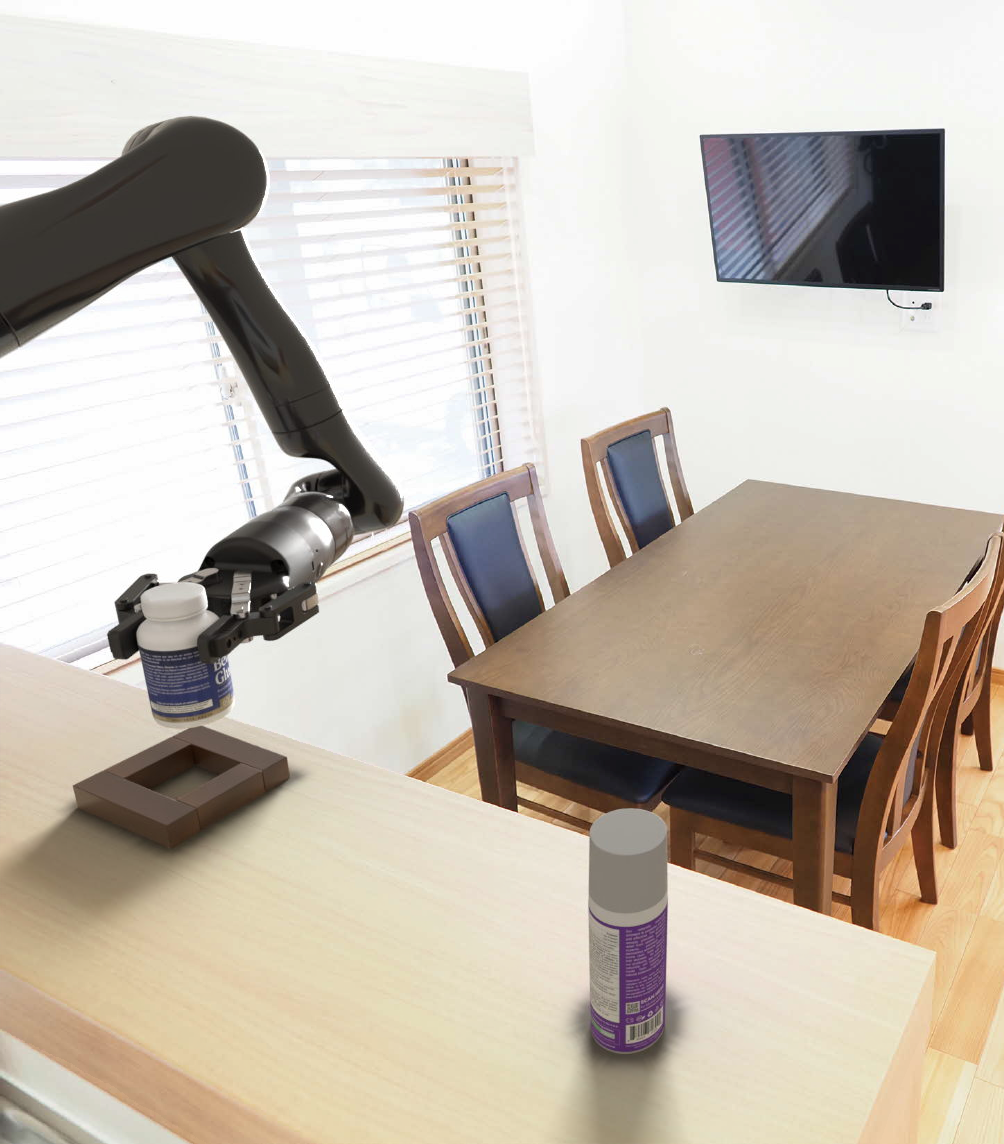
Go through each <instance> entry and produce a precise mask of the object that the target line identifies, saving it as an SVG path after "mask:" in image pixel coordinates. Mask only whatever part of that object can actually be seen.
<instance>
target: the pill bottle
mask: <svg viewBox="0 0 1004 1144" xmlns="http://www.w3.org/2000/svg"><path fill="white" fill-rule="evenodd" d="M170 583H171V584H165V585H160V586H157V587H154V588H151V589H149V590H147V591H145V592H144V593H143V594H142V595H141V604H142V611H143V613H144V616H145V617H146V618H147V619H146V620H145V621H144V622H143V623H141V625H140V626H139V627H138V629H137V634H136V637H137V642H138V648H139V651H138V652H139V655H140V656H139V657H140V661H141V664H142V665H141V666H142V670H143V676H144V681H145V687H146V691H147V695H148V699H149V706H150V710H151V715H152V718H153V719H154V721H155V722H156V723H157V724H158V725H160V726H162V727H164V728H168V729H174V730H186V729H188V728H193V727H199V726H206V725H209V724H212V723H214V722H217V721H219V720H221V719H223V718H224V717H226V716H227V715H229V714H230V712H232V710H233V709H234V706H235V703H236V701H235V700H236V699H235V691H234V686H233V679H232V673H231V668H230V661H229V654H228V655H226V656H224V657H222V658H220V659H219V660H217V661H216V662H215V663H214V664H204V663H201V661H200V657H199V652H198V646H197V638H198V636H199V635H200V634H201V633H202V632H204V631H205V630H206V629H207V628H208V627H210V626H211V625H212V624H213V623H214V622H216V621H217V620H218V619H219V617H218V616H217V615H216V614H214V613H213V612H211V611H208V610H206V609H207V607H208V604H207V603H208V601H207V596H206V591H205V588H204V587H203V586H202V585H200V584H196V583H188V582H181V583H177V582H170Z"/></svg>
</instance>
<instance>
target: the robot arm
mask: <svg viewBox="0 0 1004 1144" xmlns="http://www.w3.org/2000/svg"><path fill="white" fill-rule="evenodd" d="M120 155H121V156H119V157H117V158H116V159H114V160H112V161H111V162H109V163H107V164H106V165H104V166H102V167H100V168H98V169H97V170H95V171H94V172H92V173H90V174H88V175H85V176H84V177H82V178H80V179H78V180H75V181H74V182H72V183H69V184H66V185H65V186H61V187H59V188H56V189H53V190H50V191H47V192H44V193H39V194H37V195H36V194H35V195H33V196H30V197H26V198H22V199H18V200H15V201H12V202H9V203H4V204H1V205H0V360H1V359H2V358H4V357H6V356H8V355H10V354H11V353H13V352H15V351H17V350H19V349H21V348H22V347H25V346H26V345H28V344H29V343H31V342H33V341H34V340H36V339H37V338H39V337H40V336H42V335H44V334H45V333H47V332H48V331H50V330H52V329H53V328H56V327H57V326H58V325H60V324H61V323H64V322H65V321H67V320H68V319H70V318H72V317H73V316H75V315H76V314H78V313H79V312H81V311H82V310H84V309H86V308H87V307H89V306H90V305H92V304H93V303H94V302H96V301H98V300H99V299H100V298H102V297H104V296H105V295H106V294H108V293H109V292H111V291H113V290H114V289H115V288H117V287H118V286H119V285H121V284H122V283H124V282H125V281H127V280H128V279H130V278H131V277H134V276H136V275H138V274H139V273H140V272H142V271H144V270H147V269H148V268H150V267H153V266H154V265H156V264H158V263H161V262H163V261H165V260H167V259H170V258H172V260H173V261H174V263H175V264H176V266H177V267H178V269H179V270H180V271H181V273H182V274H183V276H184V277H185V279H186V280H187V282H188V283H189V285H190V286H191V288H192V290H193V292H194V293H195V295H196V297H198V299H199V301H200V302H201V305H202V306H203V307H204V309H205V311H206V312H207V314H208V315H209V318H210V319H211V321H212V322H213V324H214V325H215V327H216V330H218V333H219V334H220V336H221V338H222V339H223V341H224V343H225V345H226V346H227V349H228V350H229V352H230V353H231V356H232V357H233V359H234V361H235V363H236V365H237V367H238V369H239V371H240V373H241V374H242V377H243V379H244V380H245V383H246V385H247V386H248V388H249V390H250V393H251V395H252V397H253V398H254V400H255V403H256V405H257V407H258V409H259V411H260V413H261V414H262V417H263V419H264V421H265V423H266V424H267V427H268V429H269V431H270V432H271V434H272V436H273V438H274V440H275V442H276V444H277V446H278V447H279V449H280V450H281V451H282V453H283V454H285V455H286V456H288V457H291V458H295V459H296V458H297V459H315V460H321V461H325V462H326V463H328V464H330V465H331V466H332V467H334V468H332V469H328V470H327V469H326V470H323V471H318V472H313V473H311V474H310V473H309V474H308V475H306V476H303V477H301V478H299V479H297V480H295V481H294V482H293V483H292V484H291V485H290V487H289V488H288V491H287V493H286V495H285V496H284V498H283V500H282V502H281V503H279V504H278V505H277V506H275V507H274V508H272V509H271V510H268V511H266V512H263V513H261V514H259V515H257V516H255V517H253V518H251V519H250V520H249V521H247V522H246V523H244V524H243V525H241V526H240V527H239V528H236V529H235V530H234V531H233V532H231V533H229V534H228V535H227V536H225V537H223V538H222V539H221V540H219V541H218V542H216V543H215V544H213V546H211V547H210V549H208V551H207V552H206V554H205V556H204V557H203V560H202V561H201V564H200V566H199V568H198V570H197V571H195V572H192V573H189V574H186V575H183V576H182V577H180V578H179V579H178V581H177V582H176V583H181V582H188V583H196V584H200V585H202V586H203V587H204V588H205V591H206V596H207V601H208V603H207V604H208V607H207V609H206V610H208V611H211V612H213V613H214V614H216V615H217V616H218V617H219V619H218V620H217V621H216V622H214V623H213V624H212V625H211V626H210V627H208V628H207V629H206V630H205V631H204V632H202V633H201V634H200V635H199V636H198V638H197V646H198V652H199V657H200V661H201V663H204V664H214V663H215V662H216V661H217V660H219V659H220V658H222V657H224V656H226V655H228V656H229V654H231V653H232V652H233V651H234V650H235V649H236V648H238V646H239V645H242V644H249V643H251V642H252V641H253V640H254V637H261V636H262V638H263V641H266V642H275V641H277V640H280V639H281V638H282V637H284V636H286V635H287V634H288V633H290V632H292V631H293V630H295V629H296V628H298V627H299V626H301V625H303V624H304V623H305V622H307V621H309V620H310V619H311V618H313V617H315V616H316V615H317V614H319V613H320V606H319V597H318V596H319V595H318V589H317V583H318V582H319V581H320V580H321V579H322V577H324V575H325V573H326V571H327V570H328V569H329V568H330V567H332V566H333V565H334V564H335V563H336V562H337V561H339V559H340V558H342V556H343V555H344V554H345V553H346V551H348V549H349V548H350V546H351V544H352V542H353V540H354V537H356V536H360V535H365V534H370V533H374V532H380V531H384V530H388V529H390V528H392V527H394V526H395V525H396V524H397V523H398V522H399V521H400V519H401V517H402V515H403V513H404V507H405V497H404V492H403V488H402V486H401V484H400V481H399V479H398V477H397V475H396V474H395V473H394V471H393V470H392V468H391V467H390V466H389V465H388V463H387V462H386V461H385V459H384V458H382V456H381V455H380V454H379V453H378V451H376V449H375V448H374V447H373V446H372V445H371V443H370V442H369V441H368V439H367V438H366V437H365V436H364V434H363V433H362V432H361V431H360V429H359V428H358V427H357V426H356V424H355V423H354V422H353V420H352V418H351V417H350V416H349V414H348V412H347V409H346V407H345V405H344V404H343V401H342V399H341V397H340V395H339V392H338V390H337V388H336V386H335V383H334V381H333V380H332V377H331V374H330V373H329V371H328V368H327V367H326V364H325V363H324V361H323V359H322V357H321V356H320V354H319V352H318V351H317V349H316V347H315V346H314V344H313V343H312V341H311V340H310V339H309V337H308V336H307V334H306V333H305V331H303V329H302V328H301V326H300V325H299V324H298V322H297V320H295V318H294V317H293V315H292V314H291V313H290V312H289V310H288V309H287V308H286V306H285V305H284V303H282V301H281V300H280V298H279V296H278V295H277V293H276V292H275V291H274V289H273V288H272V286H271V284H270V283H269V281H268V280H267V278H266V276H265V275H264V272H263V271H262V269H261V268H260V265H259V264H258V262H257V260H256V258H255V256H254V253H253V250H252V249H251V246H250V244H249V241H248V239H247V235H246V233H245V230H244V228H245V227H247V226H248V225H250V224H251V223H252V222H253V221H254V220H255V219H256V218H257V217H258V215H259V214H260V213H261V212H262V209H263V208H264V206H265V204H266V201H267V198H268V195H269V190H270V172H269V168H268V164H267V161H266V159H265V157H264V154H263V153H262V151H261V150H260V149H259V147H258V146H257V144H255V141H253V140H252V139H251V138H250V137H249V136H248V135H246V134H245V133H244V132H243V131H241V130H240V129H238V128H236V127H234V126H233V125H230V124H229V123H225V122H223V121H221V120H217V119H214V118H210V117H206V116H197V115H184V116H176V117H174V118H169V119H166V120H162V121H158V122H155V123H152V124H149V125H147V126H144V127H142V128H140V129H139V130H137V131H136V132H135V133H133V134H132V135H131V137H130V138H129V139H127V141H126V143H125V144H124V147H123V149H122V151H121V154H120ZM158 578H159V577H158V574H157V573H145V574H142V575H140V576H139V577H138V578H137V579H135V580H134V582H132V584H131V585H130V586H129V587H127V589H126V590H125V591H124V592H122V594H121V595H120V596H119V597H118V598H117V599H115V600H114V607H115V612H116V616H117V621H118V624H117V625H115V626H114V627H113V628H111V629H109V630H108V632H107V634H106V637H107V641H108V646H109V651H110V653H111V654H112V657H113V659H114V660H122V661H123V660H124V661H126V660H129V659H130V658H131V657H133V656H134V655H135V654H137V653H138V652H139V648H138V642H137V637H136V634H137V629H138V627H139V626H140V625H141V623H143V622H144V621H145V620H146V619H147V618H146V617H145V616H144V613H143V611H142V604H141V595H142V594H143V593H144V592H145V591H147V590H149V589H151V588H154V587H157V586H160V585H165V584H171V583H172V582H160V581H159V579H158Z"/></svg>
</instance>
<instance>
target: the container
mask: <svg viewBox="0 0 1004 1144" xmlns="http://www.w3.org/2000/svg"><path fill="white" fill-rule="evenodd" d="M588 842H589V844H588V845H589V846H588V853H589V854H588V899H587V900H588V901H587V902H588V903H587V904H588V905H587V906H588V907H587V909H588V911H587V912H588V913H587V915H588V960H589V961H588V963H589V964H588V965H589V969H588V971H589V1019H590V1021H589V1023H590V1024H589V1025H590V1033H591V1035H592V1038H593V1039H594V1041H595V1043H597V1045H599V1047H601V1048H603V1049H604V1050H606V1051H607V1052H611V1053H615V1054H619V1055H620V1054H621V1055H628V1054H629V1055H631V1054H635V1053H639V1052H642V1051H645V1050H647V1049H648V1048H650V1047H651V1046H653V1045H654V1044H656V1043H657V1042H658V1041H659V1039H660V1038H661V1036H662V1035H663V1032H664V1031H665V1026H666V1002H667V1001H666V1000H667V961H668V960H667V957H668V955H667V954H668V915H669V914H668V912H669V911H668V910H669V894H668V893H669V889H668V888H669V887H668V886H669V885H668V884H669V883H668V881H669V880H668V879H669V877H668V875H669V874H668V827H667V824H666V822H665V821H664V820H663V819H662V818H661V817H660V816H659V815H657V814H656V813H653V812H652V811H649V810H646V809H641V808H629V807H628V808H620V809H615V810H612V811H608V812H607V813H604V814H603V815H601V816H599V817H598V818H597V819H596V820H595V821H594V822H593V823H592V825H590V829H589V840H588Z"/></svg>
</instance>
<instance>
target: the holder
mask: <svg viewBox="0 0 1004 1144" xmlns="http://www.w3.org/2000/svg"><path fill="white" fill-rule="evenodd" d="M194 766H197V767H199V768H201V769H202V768H203V769H205V770H208V771H210V772H213V773H216V774H217V775H216V776H215V777H213V778H211V779H210V780H208V781H206V782H204V783H203V784H201V785H199V786H197V787H195V788H193V789H191V790H190V791H187V793H184V794H182V795H181V796H179V797H177V798H176V799H174V798H171V797H169V796H166V795H164V794H162V793H160V792H157V791H155V790H153V789H152V788H154V787H156V786H159V785H160V784H163V783H164V782H166V781H168V780H170V779H171V778H173V777H176V776H178V775H179V774H181V773H183V772H185V771H187V770H188V769H190V768H192V767H194ZM290 778H291V775H290V769H289V762H288V756H286V755H284V754H281V753H278V752H275V751H273V750H270V749H267V748H265V747H261V746H259V745H256V744H253V743H251V742H248V741H245V740H242V739H239V738H237V737H235V736H231V735H229V734H226V733H224V732H220V731H218V730H215V729H213V728H210V727H207V726H205V725H203V726H199V727H193V728H187V729H183V730H182V731H180V732H178V733H176V734H174V735H172V736H170V737H168V738H166V739H164V740H162V741H160V742H157V743H156V744H153V745H152V746H149V747H148V748H146V749H143V750H141V751H140V752H138V753H136V754H133V755H132V756H130V757H127V758H125V759H124V760H122V761H120V762H117V763H115V764H113V765H112V766H109V767H107V768H105V769H103V770H100V771H99V772H97V773H95V774H93V775H90V776H89V777H87V778H84V779H82V780H81V781H78V782H77V783H75V784H72V789H73V793H74V797H75V802H76V806H77V808H78V809H80V810H81V811H84V812H86V813H89V814H91V815H92V816H93V815H94V816H96V817H98V818H101V819H102V820H104V821H107V822H109V823H111V824H114V825H116V826H117V827H118V826H119V827H120V828H123V829H124V830H128V831H130V832H132V833H134V834H137V835H139V836H141V837H143V838H145V839H148V840H150V841H153V842H155V843H157V844H159V845H162V846H164V847H166V848H168V849H170V850H171V849H173V848H175V847H177V846H178V845H180V844H182V843H184V842H185V841H187V840H188V839H190V838H192V837H193V836H195V835H197V834H198V833H200V832H202V831H203V830H205V829H206V828H208V827H211V826H212V825H213V824H215V823H217V822H219V821H220V820H222V819H223V818H225V817H227V816H229V815H230V814H232V813H233V812H235V811H237V810H239V809H240V808H242V807H244V806H246V805H247V804H248V803H250V802H252V801H254V800H255V799H257V798H259V797H260V796H262V795H264V794H265V793H267V792H269V791H270V790H272V789H274V788H275V787H277V786H278V785H280V784H282V783H284V782H285V781H287V780H288V779H290Z"/></svg>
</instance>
